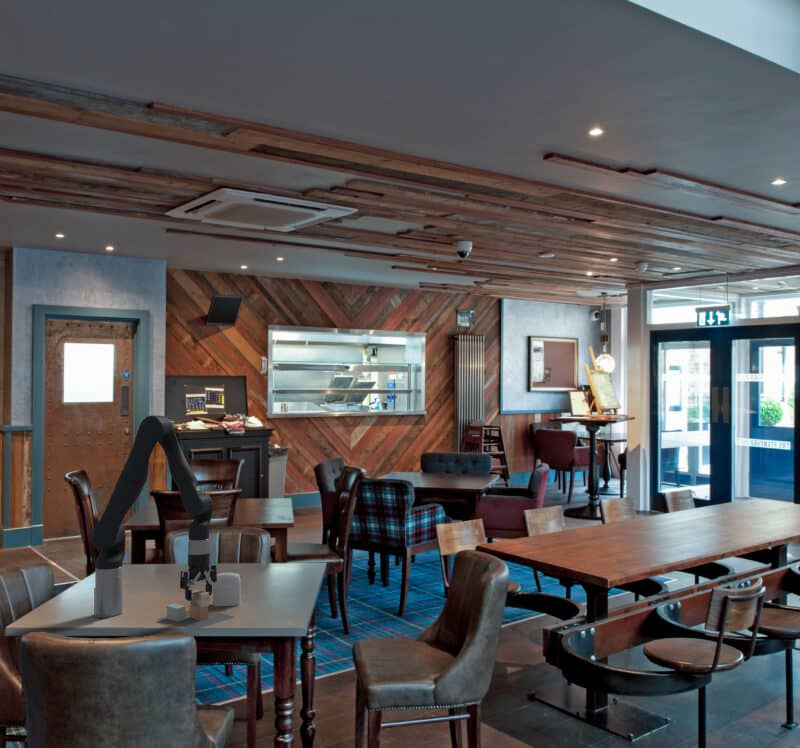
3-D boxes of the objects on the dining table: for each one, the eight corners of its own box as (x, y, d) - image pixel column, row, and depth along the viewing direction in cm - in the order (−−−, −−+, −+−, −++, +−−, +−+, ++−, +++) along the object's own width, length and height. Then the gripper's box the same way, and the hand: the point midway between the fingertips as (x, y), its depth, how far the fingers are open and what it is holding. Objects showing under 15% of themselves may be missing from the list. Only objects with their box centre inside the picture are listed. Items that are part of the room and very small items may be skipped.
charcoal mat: (157, 620, 277) (157, 619, 277) (198, 609, 292) (198, 607, 292) (194, 631, 265) (194, 629, 265) (235, 618, 280) (235, 616, 280)
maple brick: (190, 604, 279) (190, 592, 279) (198, 602, 282) (198, 590, 282) (201, 607, 275) (201, 594, 275) (209, 605, 278) (209, 592, 278)
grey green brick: (166, 618, 278) (166, 605, 278) (174, 616, 281) (174, 603, 281) (177, 621, 274) (177, 608, 274) (185, 619, 277) (185, 606, 277)
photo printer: (212, 608, 293) (212, 574, 293) (213, 604, 297) (213, 571, 298) (240, 607, 294) (240, 573, 294) (241, 604, 298) (241, 571, 299)
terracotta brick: (189, 617, 279) (189, 604, 279) (197, 615, 282) (197, 602, 282) (200, 620, 275) (200, 607, 275) (208, 618, 278) (208, 605, 278)
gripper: (207, 547, 287) (207, 592, 287) (175, 553, 275) (175, 600, 275) (221, 549, 282) (221, 595, 282) (189, 556, 271) (189, 604, 271)
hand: (198, 597), depth 279 cm, fingers open, 8 cm apart
